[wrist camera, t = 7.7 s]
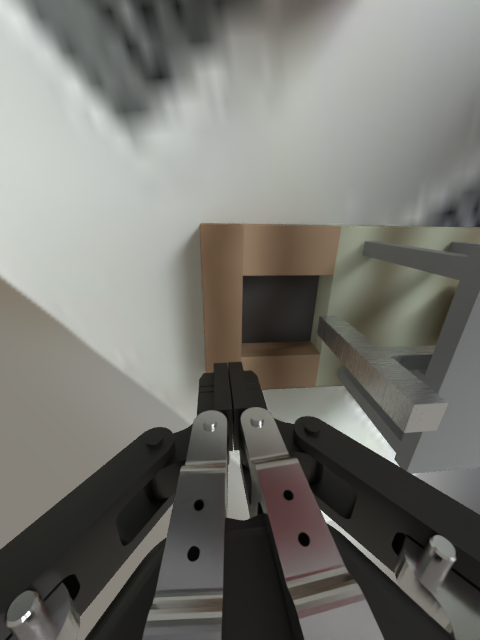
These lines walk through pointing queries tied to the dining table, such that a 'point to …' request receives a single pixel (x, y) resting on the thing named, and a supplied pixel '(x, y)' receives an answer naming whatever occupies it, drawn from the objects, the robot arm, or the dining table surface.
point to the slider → (387, 374)
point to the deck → (315, 295)
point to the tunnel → (438, 365)
